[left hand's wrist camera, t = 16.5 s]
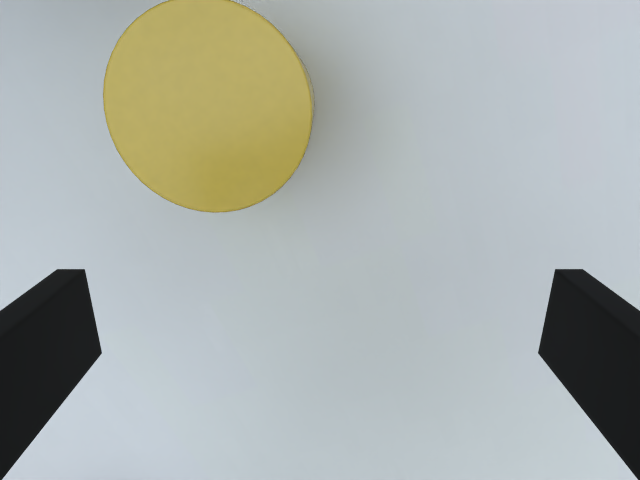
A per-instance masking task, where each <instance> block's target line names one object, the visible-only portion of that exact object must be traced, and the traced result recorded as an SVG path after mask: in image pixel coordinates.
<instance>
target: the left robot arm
mask: <svg viewBox="0 0 640 480" xmlns="http://www.w3.org/2000/svg"><path fill="white" fill-rule="evenodd" d="M101 354H102V352H101V347H100V342H99V337H98V332H97V327H96V322H95V317H94V312H93V307H92V302H91V298H90V293H89V288H88V283H87V278H86V273H85V269H57V270H56V271H54V272H53V273H52V274H50V275H49V276H47V277H46V278H45V279H43V280H42V281H41V282H39V283H38V284H37V285H35V286H34V287H32V288H31V289H30V290H28V291H27V292H26V293H24V294H23V295H21V296H20V297H19V298H17V299H16V300H15V301H13V302H12V303H11V304H9V305H8V306H6V307H5V308H4V309H2V310H1V311H0V480H2V479H3V477H4V476H5V475H6V474H7V472H8V471H9V470H10V469H11V467H12V466H13V465H14V464H15V462H16V461H17V460H18V458H19V457H20V456H21V455H22V453H23V452H24V451H25V450H26V448H27V447H28V446H29V445H30V443H31V442H32V441H33V440H34V438H35V437H36V436H37V434H38V433H39V432H40V431H41V429H42V428H43V427H44V426H45V424H46V423H47V422H48V421H49V419H50V418H51V417H52V415H53V414H54V413H55V412H56V410H57V409H58V408H59V407H60V405H61V404H62V403H63V402H64V400H65V399H66V398H67V397H68V395H69V394H70V393H71V391H72V390H73V389H74V388H75V386H76V385H77V384H78V383H79V381H80V380H81V379H82V378H83V376H84V375H85V374H86V373H87V371H88V370H89V369H90V367H91V366H92V365H93V364H94V362H95V361H96V360H97V359H98V357H99V356H100V355H101ZM538 354H539V355H540V356H541V357H542V359H543V360H544V361H545V362H546V364H547V365H548V366H549V367H550V369H551V370H552V371H553V373H554V374H555V375H556V376H557V378H558V379H559V380H560V381H561V383H562V384H563V385H564V386H565V388H566V389H567V390H568V391H569V393H570V394H571V395H572V397H573V398H574V399H575V400H576V402H577V403H578V404H579V405H580V407H581V408H582V409H583V410H584V412H585V413H586V414H587V416H588V417H589V418H590V419H591V421H592V422H593V423H594V424H595V426H596V427H597V428H598V429H599V431H600V432H601V433H602V434H603V436H604V437H605V438H606V440H607V441H608V442H609V443H610V445H611V446H612V447H613V448H614V450H615V451H616V452H617V453H618V455H619V456H620V457H621V458H622V460H623V461H624V462H625V464H626V465H627V466H628V467H629V469H630V470H631V471H632V472H633V474H634V475H635V476H636V477H637V479H638V480H640V311H639V310H638V309H636V308H635V307H634V306H632V305H631V304H629V303H628V302H627V301H625V300H624V299H623V298H621V297H620V296H619V295H617V294H616V293H614V292H613V291H612V290H610V289H609V288H608V287H606V286H605V285H603V284H602V283H601V282H599V281H598V280H597V279H595V278H594V277H593V276H591V275H590V274H588V273H587V272H586V271H584V270H583V269H555V273H554V278H553V283H552V288H551V293H550V298H549V302H548V307H547V312H546V317H545V322H544V327H543V332H542V337H541V342H540V347H539V351H538Z"/></svg>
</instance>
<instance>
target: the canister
mask: <svg viewBox="0 0 640 480" xmlns="http://www.w3.org/2000/svg"><path fill="white" fill-rule="evenodd" d="M103 100H104V111H105V117H106V122H107V125H108V129H109V132H110V135H111V138H112V140H113V142H114V144H115V147H116V149H117V151H118V152H119V154H120V156H121V157H122V159H123V161H124V162H125V163H126V165H127V166H128V167H129V169H130V170H131V171H132V172H133V173H134V175H135V176H136V177H137V178H138V179H139V180H140V181H141V182H142V183H143V184H145V185H146V186H147V187H148V188H150V189H151V190H152V191H153V192H155V193H157V194H158V195H160V196H161V197H163V198H164V199H166V200H168V201H170V202H172V203H175V204H177V205H180V206H183V207H185V208H188V209H193V210H197V211H203V212H230V211H236V210H240V209H244V208H247V207H250V206H253V205H255V204H257V203H259V202H262V201H263V200H265V199H266V198H268V197H270V196H271V195H273V194H274V193H275V192H276V191H278V190H279V189H280V188H281V187H282V186H283V185H284V184H285V183H286V182H287V181H288V180H289V179H290V177H291V176H292V175H293V173H294V172H295V170H296V169H297V168H298V166H299V164H300V162H301V160H302V158H303V156H304V154H305V151H306V148H307V145H308V142H309V138H310V133H311V128H312V121H313V114H314V93H313V86H312V83H311V80H310V77H309V74H308V72H307V70H306V68H305V66H304V64H303V63H302V61H301V59H300V58H299V56H298V55H297V54H296V52H295V51H294V49H293V48H292V46H291V45H290V44H289V42H288V41H287V40H286V39H285V37H284V36H283V35H282V34H281V33H280V32H279V31H278V30H277V29H276V28H275V27H274V26H273V25H272V24H271V23H270V22H269V21H267V20H266V19H265V18H264V17H262V16H261V15H260V14H258V13H256V12H255V11H253V10H251V9H249V8H248V7H246V6H243V5H241V4H239V3H236V2H234V1H231V0H169V1H166V2H163V3H160V4H158V5H156V6H155V7H153V8H151V9H149V10H147V11H146V12H145V13H143V14H142V15H141V16H139V17H138V18H137V19H136V20H135V21H134V22H133V23H132V24H131V25H130V26H129V27H128V28H127V29H126V30H125V32H124V33H123V34H122V36H121V37H120V39H119V40H118V42H117V44H116V46H115V48H114V49H113V51H112V54H111V56H110V59H109V62H108V65H107V69H106V74H105V79H104V90H103Z"/></svg>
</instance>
